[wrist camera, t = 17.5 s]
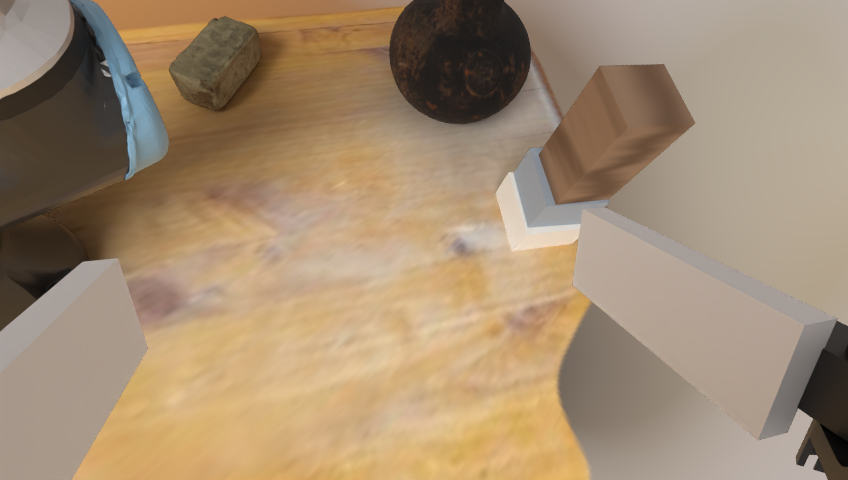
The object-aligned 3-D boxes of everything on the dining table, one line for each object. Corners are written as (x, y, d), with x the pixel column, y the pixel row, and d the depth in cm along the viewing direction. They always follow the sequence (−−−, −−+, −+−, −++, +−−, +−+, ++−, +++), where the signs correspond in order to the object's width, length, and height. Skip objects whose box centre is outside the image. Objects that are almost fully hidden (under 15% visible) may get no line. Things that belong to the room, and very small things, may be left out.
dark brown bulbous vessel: (395, 147, 53) (434, -102, 28) (377, 44, 60) (395, -234, 34) (524, 141, 57) (662, -85, 31) (493, 44, 63) (587, -207, 38)
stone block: (267, 56, 56) (259, 24, 51) (221, 118, 51) (208, 89, 46) (227, 41, 56) (215, 7, 51) (178, 101, 51) (160, 70, 46)
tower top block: (527, 227, 46) (546, 206, 41) (513, 173, 48) (529, 147, 44) (584, 223, 47) (609, 202, 42) (567, 171, 50) (589, 146, 45)
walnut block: (555, 204, 41) (627, 127, 30) (538, 154, 44) (599, 65, 33) (608, 199, 43) (695, 123, 32) (588, 151, 45) (663, 64, 34)
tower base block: (511, 251, 50) (526, 234, 45) (495, 193, 53) (508, 172, 48) (570, 244, 51) (591, 227, 47) (551, 188, 54) (570, 167, 50)
